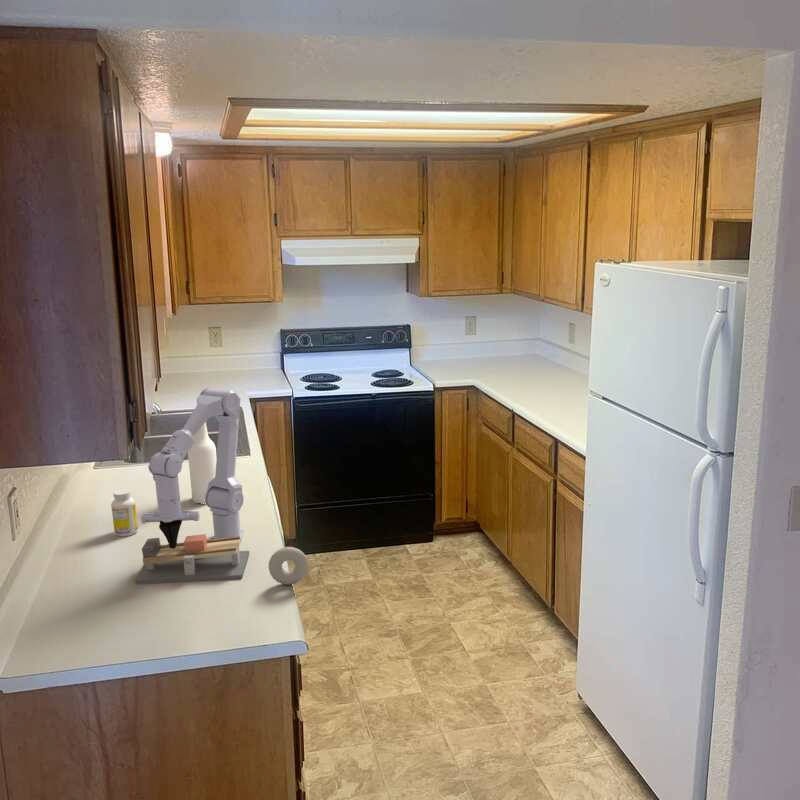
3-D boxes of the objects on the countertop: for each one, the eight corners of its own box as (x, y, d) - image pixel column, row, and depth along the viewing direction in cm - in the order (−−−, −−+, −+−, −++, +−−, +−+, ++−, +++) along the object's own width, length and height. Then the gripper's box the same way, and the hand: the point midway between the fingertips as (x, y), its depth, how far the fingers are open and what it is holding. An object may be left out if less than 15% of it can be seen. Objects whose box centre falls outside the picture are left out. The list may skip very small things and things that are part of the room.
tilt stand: (149, 558, 218) (147, 539, 217) (249, 553, 219) (247, 534, 218) (135, 583, 203) (132, 562, 202) (242, 578, 205) (240, 557, 203)
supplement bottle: (130, 526, 241) (125, 486, 238) (142, 531, 237) (138, 490, 234) (110, 533, 236) (105, 492, 233) (122, 539, 232) (117, 497, 229)
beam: (151, 551, 214) (148, 537, 213) (240, 541, 215) (238, 527, 214) (143, 564, 206) (140, 550, 205) (236, 553, 207) (234, 539, 206)
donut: (269, 588, 199) (266, 551, 197) (270, 582, 202) (267, 545, 200) (309, 585, 200) (307, 548, 198) (309, 579, 203) (307, 543, 201)
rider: (188, 546, 212) (186, 536, 211) (207, 544, 212) (205, 534, 211) (185, 552, 208) (183, 542, 207) (204, 550, 208) (202, 540, 208)
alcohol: (225, 497, 263) (218, 409, 256) (208, 506, 256) (200, 415, 249) (204, 493, 267) (196, 406, 260) (186, 502, 260) (178, 413, 253)
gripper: (136, 504, 202) (141, 554, 205) (193, 502, 203) (198, 551, 206) (143, 495, 209) (148, 543, 212) (199, 492, 210) (203, 540, 213)
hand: (173, 546), depth 210 cm, fingers closed
